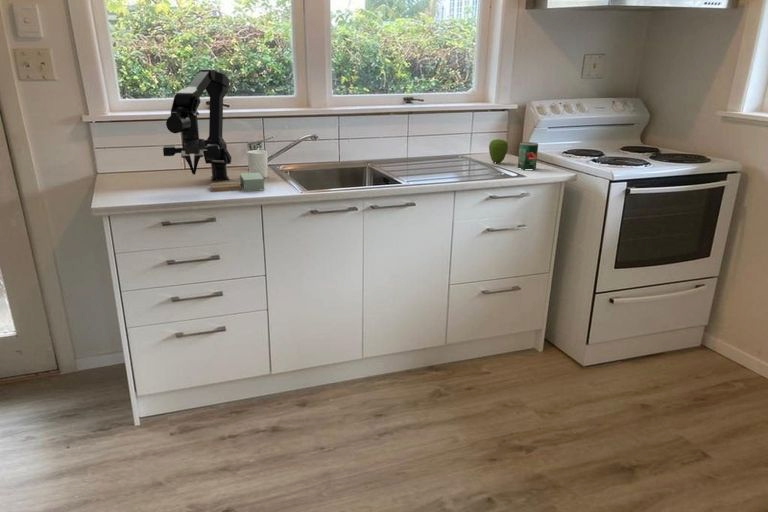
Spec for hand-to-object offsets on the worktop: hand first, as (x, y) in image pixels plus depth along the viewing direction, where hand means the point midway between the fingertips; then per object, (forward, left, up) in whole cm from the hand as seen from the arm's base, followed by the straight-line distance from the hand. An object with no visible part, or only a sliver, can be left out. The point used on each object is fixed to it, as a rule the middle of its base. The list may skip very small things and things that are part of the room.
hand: (194, 174), depth 207 cm
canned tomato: (-3, +139, -6) cm, 139 cm away
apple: (-18, +133, -6) cm, 134 cm away
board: (0, +10, -6) cm, 12 cm away
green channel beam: (0, +20, -6) cm, 21 cm away
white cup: (-18, +25, -6) cm, 31 cm away
